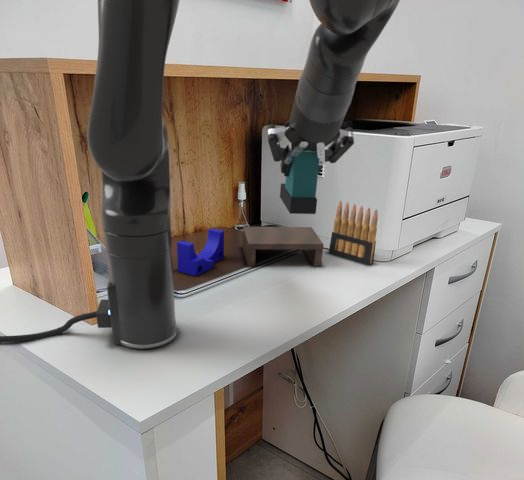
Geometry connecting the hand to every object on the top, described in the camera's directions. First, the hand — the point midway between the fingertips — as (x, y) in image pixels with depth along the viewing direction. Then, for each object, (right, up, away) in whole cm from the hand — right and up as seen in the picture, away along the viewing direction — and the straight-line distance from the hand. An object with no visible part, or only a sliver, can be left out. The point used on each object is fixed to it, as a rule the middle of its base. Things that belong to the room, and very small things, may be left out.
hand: (299, 171), depth 85 cm
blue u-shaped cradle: (-18, -13, +20) cm, 30 cm away
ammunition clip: (+14, -10, +28) cm, 33 cm away
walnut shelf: (-2, -10, +26) cm, 28 cm away
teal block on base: (0, -5, +2) cm, 6 cm away
